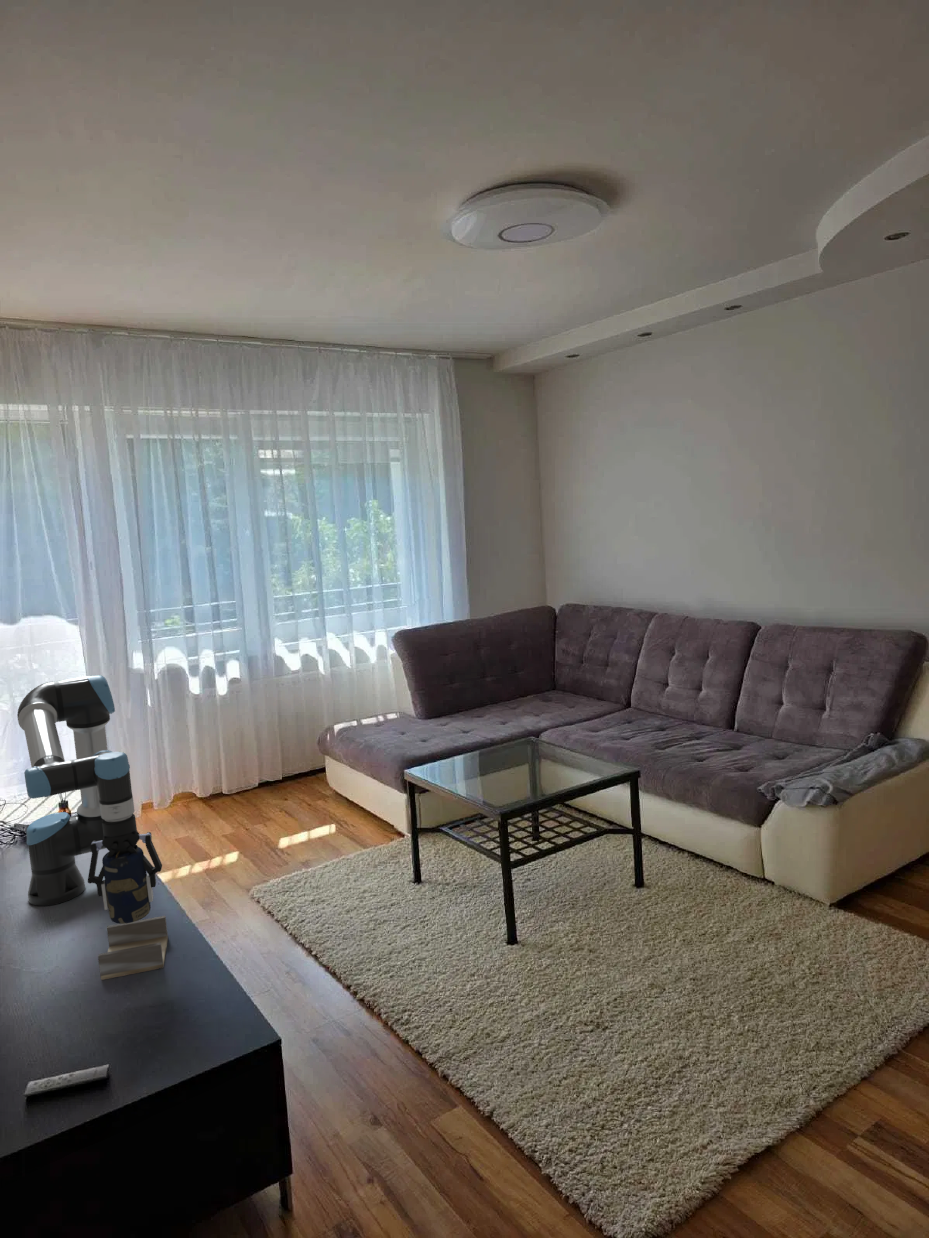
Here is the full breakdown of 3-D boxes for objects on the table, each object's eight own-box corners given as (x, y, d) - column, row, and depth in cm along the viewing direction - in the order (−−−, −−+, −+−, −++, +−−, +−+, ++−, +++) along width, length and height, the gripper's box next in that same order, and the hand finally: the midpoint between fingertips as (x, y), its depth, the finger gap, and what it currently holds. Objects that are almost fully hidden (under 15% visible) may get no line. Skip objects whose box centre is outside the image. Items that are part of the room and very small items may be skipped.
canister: (159, 909, 206) (151, 841, 204) (133, 928, 198) (124, 857, 195) (128, 906, 210) (120, 838, 207) (101, 924, 201) (92, 854, 198)
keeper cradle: (110, 947, 211) (107, 925, 210) (168, 937, 214) (165, 915, 213) (101, 979, 196) (97, 956, 195) (163, 967, 200) (160, 944, 199)
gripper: (65, 829, 194) (77, 918, 197) (165, 814, 199) (175, 901, 202) (71, 818, 201) (83, 905, 204) (167, 804, 207) (177, 888, 210)
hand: (129, 903), depth 203 cm, fingers closed on canister, 9 cm apart
